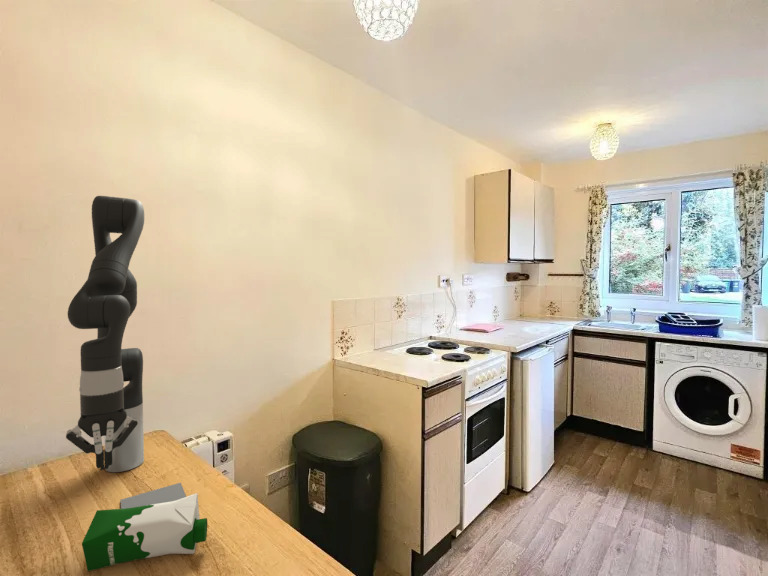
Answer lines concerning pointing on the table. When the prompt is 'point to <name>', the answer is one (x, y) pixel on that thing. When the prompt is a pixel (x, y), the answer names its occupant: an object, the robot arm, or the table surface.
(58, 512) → the table surface
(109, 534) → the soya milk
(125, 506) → the mat
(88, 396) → the robot arm
